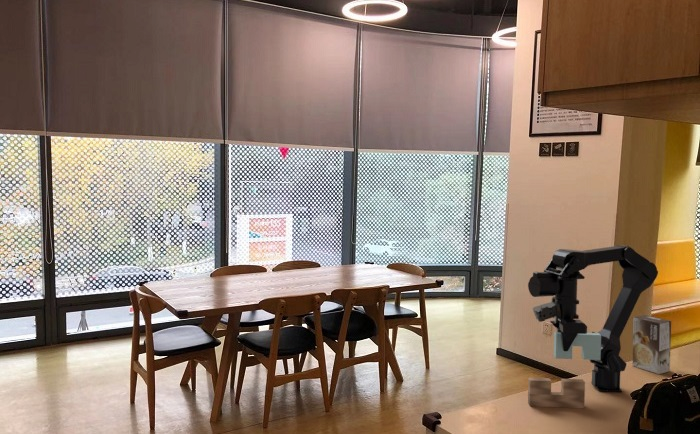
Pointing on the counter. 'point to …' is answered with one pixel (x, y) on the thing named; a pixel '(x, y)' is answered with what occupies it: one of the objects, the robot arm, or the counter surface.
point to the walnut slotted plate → (556, 393)
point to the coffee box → (651, 343)
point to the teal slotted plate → (587, 341)
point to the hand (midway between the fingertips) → (564, 349)
